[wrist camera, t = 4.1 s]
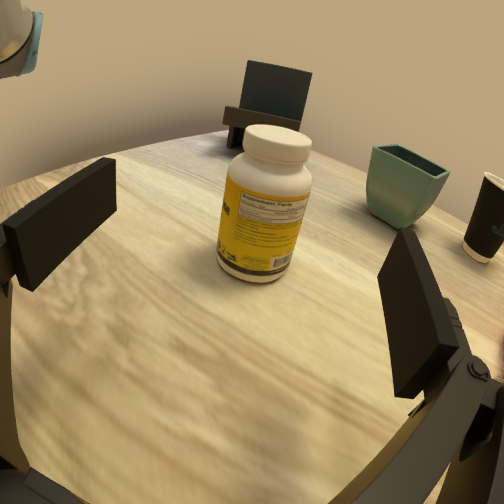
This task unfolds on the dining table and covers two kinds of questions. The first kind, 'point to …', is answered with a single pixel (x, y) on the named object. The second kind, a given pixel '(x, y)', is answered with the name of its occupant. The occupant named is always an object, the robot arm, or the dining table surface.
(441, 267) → the dining table surface
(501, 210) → the dixie cup
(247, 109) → the toy chair
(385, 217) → the flower pot
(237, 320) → the dining table surface
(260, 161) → the pill bottle
